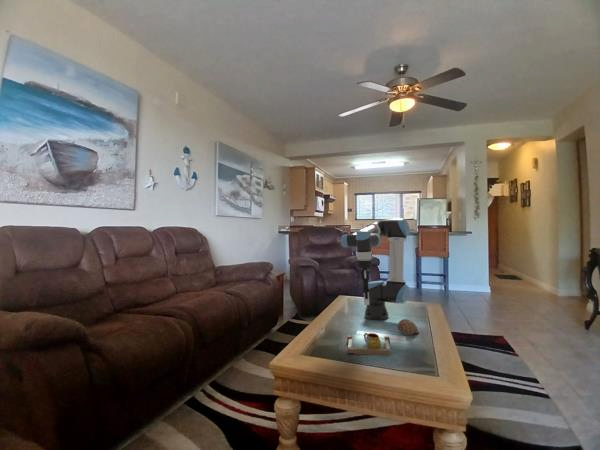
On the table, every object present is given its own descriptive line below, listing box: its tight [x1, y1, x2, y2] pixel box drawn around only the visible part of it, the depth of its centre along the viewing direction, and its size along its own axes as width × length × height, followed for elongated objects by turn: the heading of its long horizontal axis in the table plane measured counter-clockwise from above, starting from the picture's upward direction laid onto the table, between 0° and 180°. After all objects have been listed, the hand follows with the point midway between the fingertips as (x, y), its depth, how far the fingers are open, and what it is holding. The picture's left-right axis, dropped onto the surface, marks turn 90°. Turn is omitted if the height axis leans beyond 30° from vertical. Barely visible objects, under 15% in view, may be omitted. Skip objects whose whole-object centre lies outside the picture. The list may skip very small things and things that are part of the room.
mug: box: [363, 332, 382, 349], centre depth 146 cm, size 12×7×7 cm, turn 15°
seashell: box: [397, 318, 419, 336], centre depth 164 cm, size 10×9×10 cm
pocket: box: [346, 334, 391, 356], centre depth 145 cm, size 16×21×3 cm
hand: (366, 304), depth 159 cm, fingers closed
